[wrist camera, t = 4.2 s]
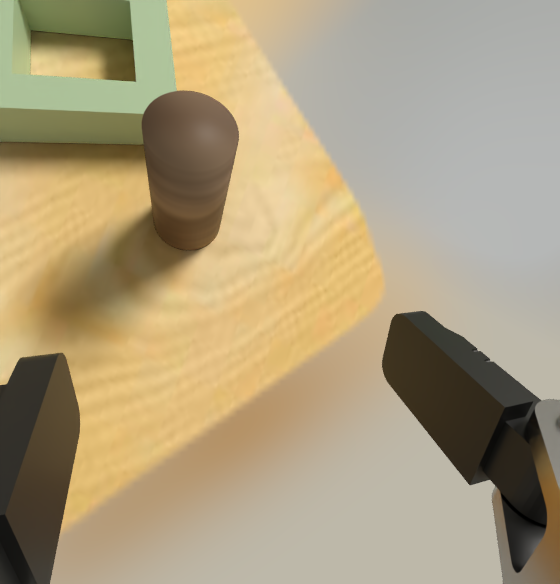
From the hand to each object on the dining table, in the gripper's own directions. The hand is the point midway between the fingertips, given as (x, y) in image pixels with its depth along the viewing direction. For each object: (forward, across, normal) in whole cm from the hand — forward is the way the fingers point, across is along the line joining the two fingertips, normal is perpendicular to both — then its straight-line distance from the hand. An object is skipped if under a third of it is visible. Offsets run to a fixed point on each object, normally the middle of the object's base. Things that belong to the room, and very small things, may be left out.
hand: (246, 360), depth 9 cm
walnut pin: (+18, 0, +2) cm, 19 cm away
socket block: (+27, +6, -6) cm, 28 cm away
